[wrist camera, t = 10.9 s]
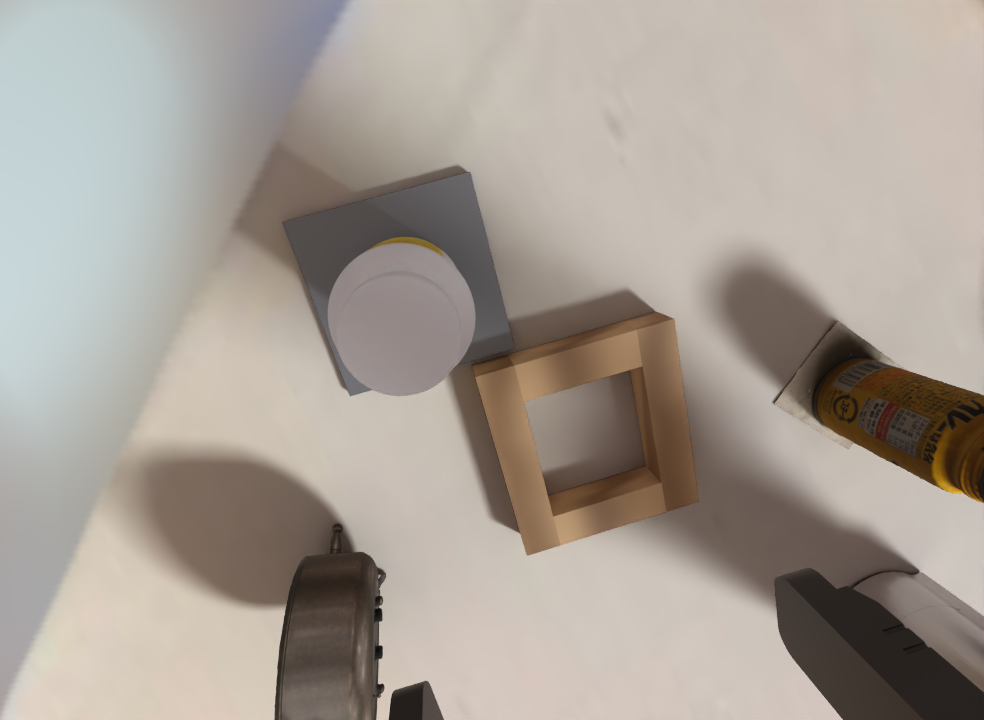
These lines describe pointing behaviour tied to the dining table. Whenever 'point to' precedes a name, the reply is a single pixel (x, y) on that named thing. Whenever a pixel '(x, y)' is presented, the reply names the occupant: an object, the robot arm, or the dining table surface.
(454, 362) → the pill bottle
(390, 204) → the slate coaster
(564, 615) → the dining table surface
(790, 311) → the dining table surface
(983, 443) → the condiment
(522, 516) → the wooden square frame
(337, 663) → the alarm clock
